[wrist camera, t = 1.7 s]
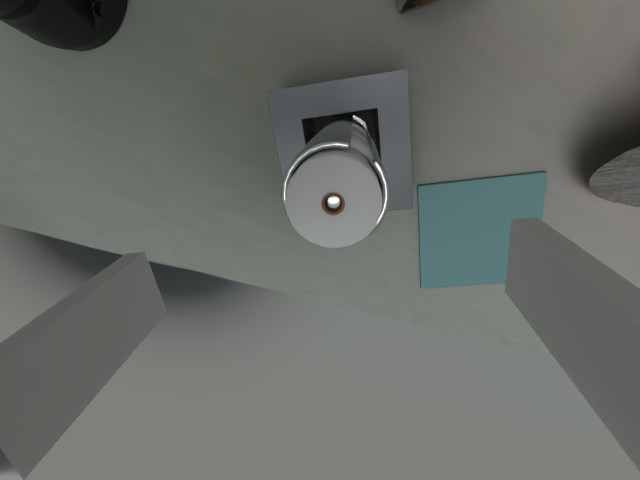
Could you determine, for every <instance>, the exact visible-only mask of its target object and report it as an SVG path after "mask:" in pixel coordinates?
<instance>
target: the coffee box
mask: <svg viewBox="0 0 640 480" xmlns="http://www.w3.org/2000/svg"><path fill="white" fill-rule="evenodd" d="M396 1H397V7H398V12H399V13H400V14H403V13H406V12H409V11H412V10H414V9H417V8H420V7H423V6H425V5H428V4H431V3H434V2H436V1H439V0H396Z"/></svg>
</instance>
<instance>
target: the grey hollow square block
mask: <svg viewBox="0 0 640 480" xmlns="http://www.w3.org/2000/svg"><path fill="white" fill-rule="evenodd" d="M266 92H267V98H268V103H269V108H270V114H271V119H272V125H273V130H274V135H275V141H276V146H277V151H278V157H279V162H280V168H281V173H282V178H284V176H285V173H286V170H287V168H288V167H289V165H290V164H291V162H292V161H293V160H294V158H295V157H296V156H297V155H298V154H299V152H300V151H301V150H302V149H303V148H304V147H305V146H306V145H307V144H308V142H309V141H310V140H311V139H312V138H313V137H314V132H313V125H312V118H313V117H320V116H327V115H334V114H341V113H348V112H355V111H362V110H368V109H374V119H375V132H376V146H377V151H378V154H379V156H380V159H381V162H382V164H383V167H384V170H385V173H386V176H387V179H388V181H389V188H390V200H389V205H388V209H387V211H391V210H401V209H411V208H413V188H412V161H411V133H410V105H409V77H408V69H403V70H397V71H390V72H384V73H378V74H371V75H365V76H359V77H353V78H346V79H340V80H334V81H327V82H321V83H315V84H309V85H302V86H296V87H290V88H284V89H277V90H271V91H266Z"/></svg>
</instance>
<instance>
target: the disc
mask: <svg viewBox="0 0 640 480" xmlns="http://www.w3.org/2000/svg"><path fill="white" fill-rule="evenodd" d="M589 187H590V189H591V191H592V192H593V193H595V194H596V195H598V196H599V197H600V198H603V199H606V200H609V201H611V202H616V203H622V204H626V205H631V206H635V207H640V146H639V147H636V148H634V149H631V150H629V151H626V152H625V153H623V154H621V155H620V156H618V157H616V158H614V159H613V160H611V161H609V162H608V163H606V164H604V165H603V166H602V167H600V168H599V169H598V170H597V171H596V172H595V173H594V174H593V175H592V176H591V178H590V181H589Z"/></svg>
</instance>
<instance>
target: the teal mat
mask: <svg viewBox="0 0 640 480" xmlns="http://www.w3.org/2000/svg"><path fill="white" fill-rule="evenodd" d="M546 176H547V172H546V171H540V172H531V173H523V174H514V175H505V176H496V177H487V178H478V179H469V180H460V181H451V182H442V183H433V184H424V185H417V188H418V221H419V254H420V286H421V289H422V288H436V287H451V286H465V285H480V284H494V283H506V275H507V264H508V253H509V242H510V230H511V219H523V218H534V217H537V218H538V219H540V220H541V218H542V210H543V202H544V193H545V185H546Z"/></svg>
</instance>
